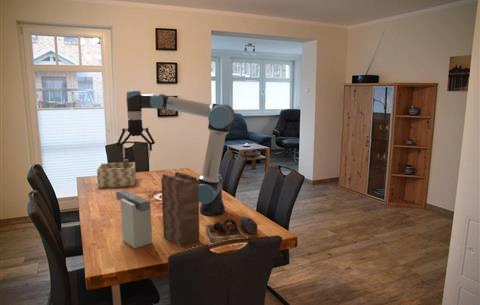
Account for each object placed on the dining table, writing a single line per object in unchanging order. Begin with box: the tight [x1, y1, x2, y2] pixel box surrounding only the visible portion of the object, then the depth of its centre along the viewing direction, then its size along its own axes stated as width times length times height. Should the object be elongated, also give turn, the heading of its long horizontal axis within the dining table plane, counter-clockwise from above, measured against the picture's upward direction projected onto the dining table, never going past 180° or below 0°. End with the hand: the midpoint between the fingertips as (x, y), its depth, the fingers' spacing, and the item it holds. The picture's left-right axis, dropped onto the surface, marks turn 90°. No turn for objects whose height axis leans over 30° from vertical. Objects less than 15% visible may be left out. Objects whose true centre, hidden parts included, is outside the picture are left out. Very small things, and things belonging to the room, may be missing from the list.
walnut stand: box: [160, 171, 201, 248], centre depth 168 cm, size 16×10×32 cm, turn 43°
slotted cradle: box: [119, 195, 153, 249], centre depth 166 cm, size 12×9×20 cm
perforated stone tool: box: [239, 216, 258, 234], centre depth 181 cm, size 15×5×7 cm, turn 23°
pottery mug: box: [212, 218, 238, 236], centre depth 177 cm, size 12×10×8 cm
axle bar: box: [115, 189, 151, 211], centre depth 167 cm, size 26×4×4 cm, turn 43°
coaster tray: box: [205, 222, 244, 244], centre depth 175 cm, size 16×17×3 cm
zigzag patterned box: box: [96, 161, 137, 189], centre depth 277 cm, size 26×23×14 cm
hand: (136, 157), depth 197 cm, fingers open, 13 cm apart
